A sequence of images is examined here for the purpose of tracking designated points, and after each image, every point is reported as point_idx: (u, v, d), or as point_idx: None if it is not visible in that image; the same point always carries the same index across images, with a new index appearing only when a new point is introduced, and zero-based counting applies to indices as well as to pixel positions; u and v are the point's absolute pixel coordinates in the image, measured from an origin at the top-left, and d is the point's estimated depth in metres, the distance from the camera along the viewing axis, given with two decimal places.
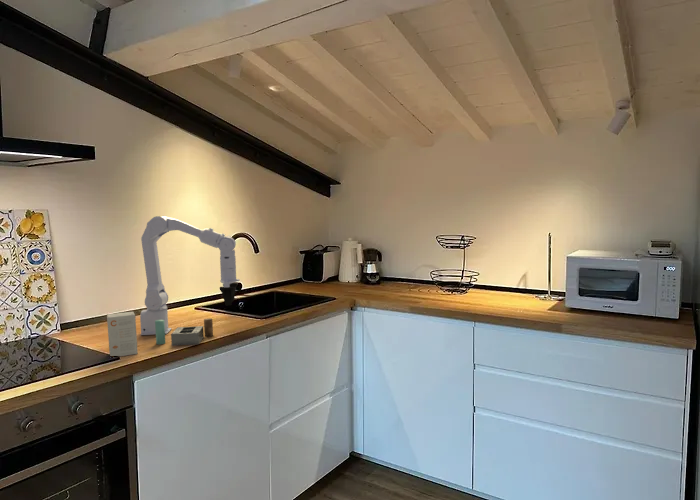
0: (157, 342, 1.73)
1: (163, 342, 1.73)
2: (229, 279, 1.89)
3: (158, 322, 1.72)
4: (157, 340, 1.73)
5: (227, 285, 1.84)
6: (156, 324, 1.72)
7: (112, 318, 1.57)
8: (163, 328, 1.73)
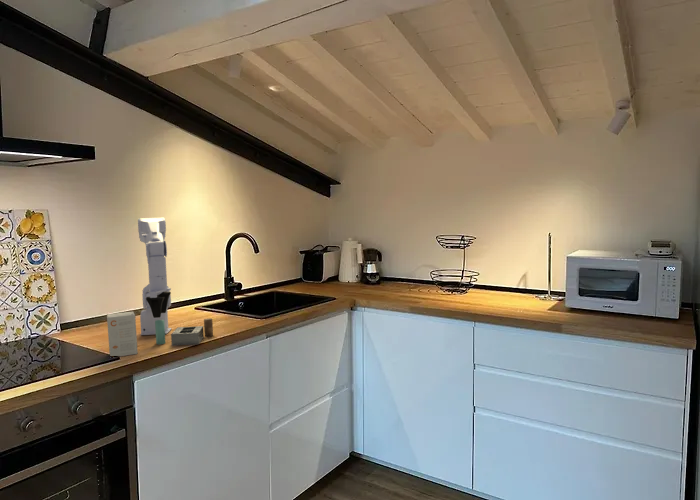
0: (157, 342, 1.73)
1: (163, 342, 1.73)
2: (158, 288, 1.70)
3: (158, 322, 1.72)
4: (157, 340, 1.73)
5: (154, 295, 1.66)
6: (156, 324, 1.72)
7: (112, 318, 1.57)
8: (163, 328, 1.73)
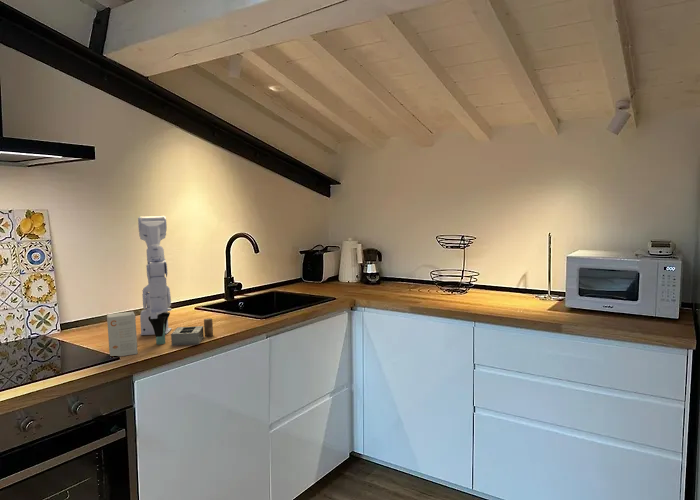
0: (157, 342, 1.73)
1: (163, 342, 1.73)
2: (158, 309, 1.70)
3: None
4: (157, 340, 1.73)
5: (154, 316, 1.66)
6: None
7: (112, 318, 1.57)
8: (163, 328, 1.73)
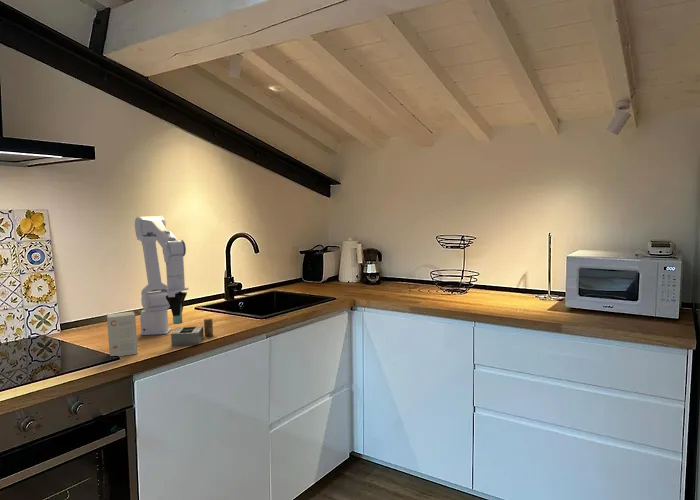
0: (174, 322, 1.72)
1: (180, 322, 1.72)
2: (176, 288, 1.70)
3: None
4: (174, 320, 1.72)
5: (172, 295, 1.65)
6: None
7: (112, 318, 1.57)
8: None
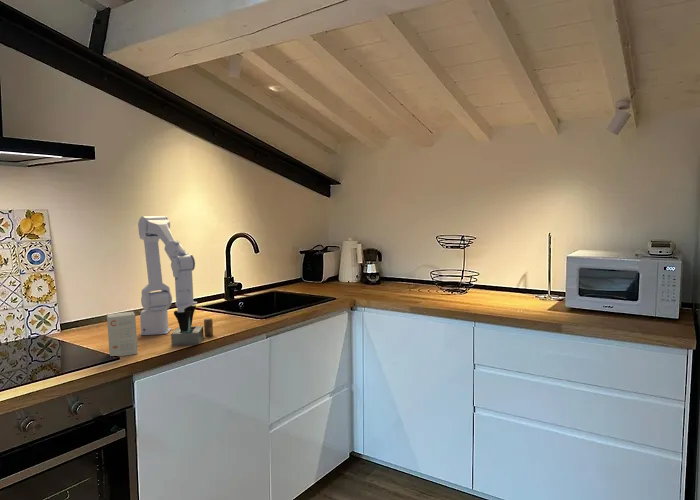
0: None
1: None
2: (185, 302, 1.70)
3: None
4: None
5: (181, 310, 1.66)
6: None
7: (112, 318, 1.57)
8: (189, 325, 1.73)
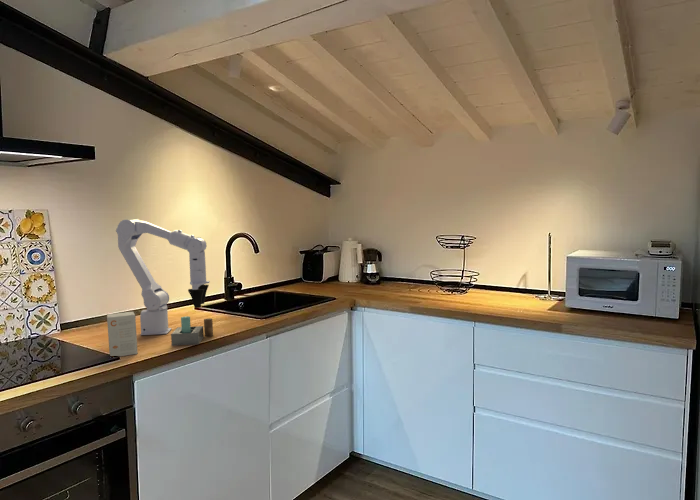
0: None
1: None
2: (198, 281, 1.86)
3: (184, 319, 1.72)
4: None
5: (195, 287, 1.81)
6: (182, 321, 1.72)
7: (112, 318, 1.57)
8: (189, 325, 1.73)
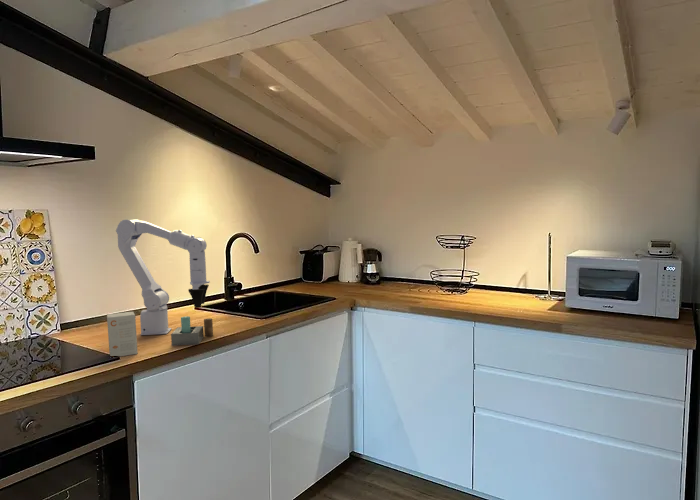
0: None
1: None
2: (198, 281, 1.86)
3: (184, 319, 1.72)
4: None
5: (196, 287, 1.82)
6: (182, 321, 1.72)
7: (112, 318, 1.57)
8: (189, 325, 1.73)
